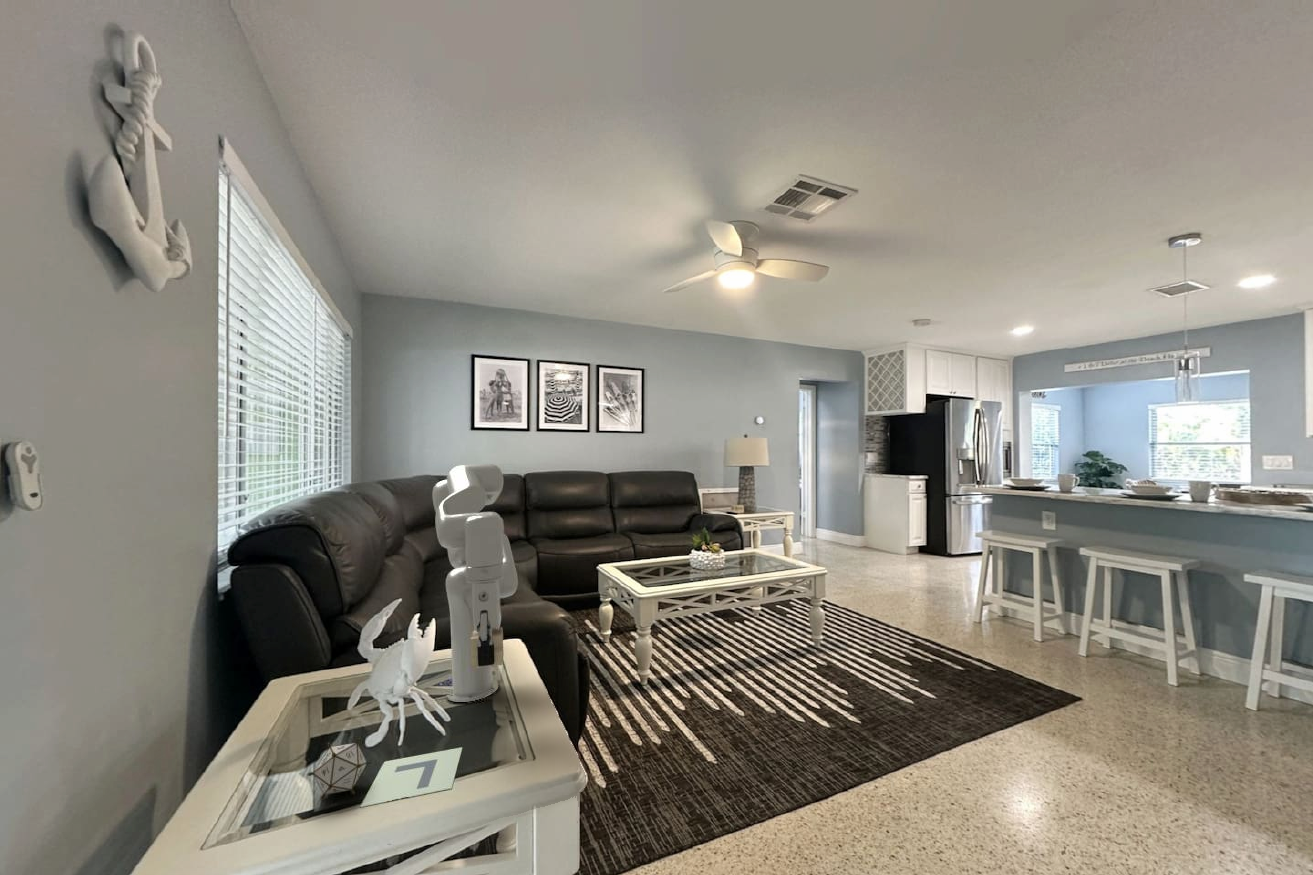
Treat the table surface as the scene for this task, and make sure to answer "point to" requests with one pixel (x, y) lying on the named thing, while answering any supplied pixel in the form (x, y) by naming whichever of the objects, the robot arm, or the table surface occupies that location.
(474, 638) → the cube
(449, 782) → the letter card
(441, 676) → the table surface
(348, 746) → the game die
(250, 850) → the table surface
